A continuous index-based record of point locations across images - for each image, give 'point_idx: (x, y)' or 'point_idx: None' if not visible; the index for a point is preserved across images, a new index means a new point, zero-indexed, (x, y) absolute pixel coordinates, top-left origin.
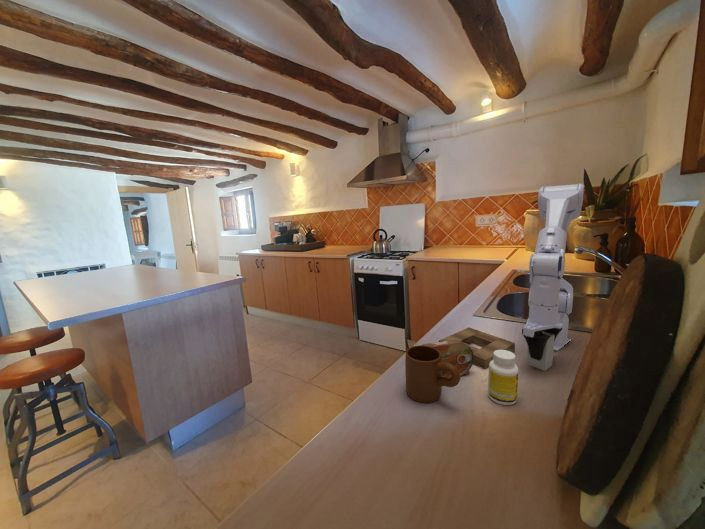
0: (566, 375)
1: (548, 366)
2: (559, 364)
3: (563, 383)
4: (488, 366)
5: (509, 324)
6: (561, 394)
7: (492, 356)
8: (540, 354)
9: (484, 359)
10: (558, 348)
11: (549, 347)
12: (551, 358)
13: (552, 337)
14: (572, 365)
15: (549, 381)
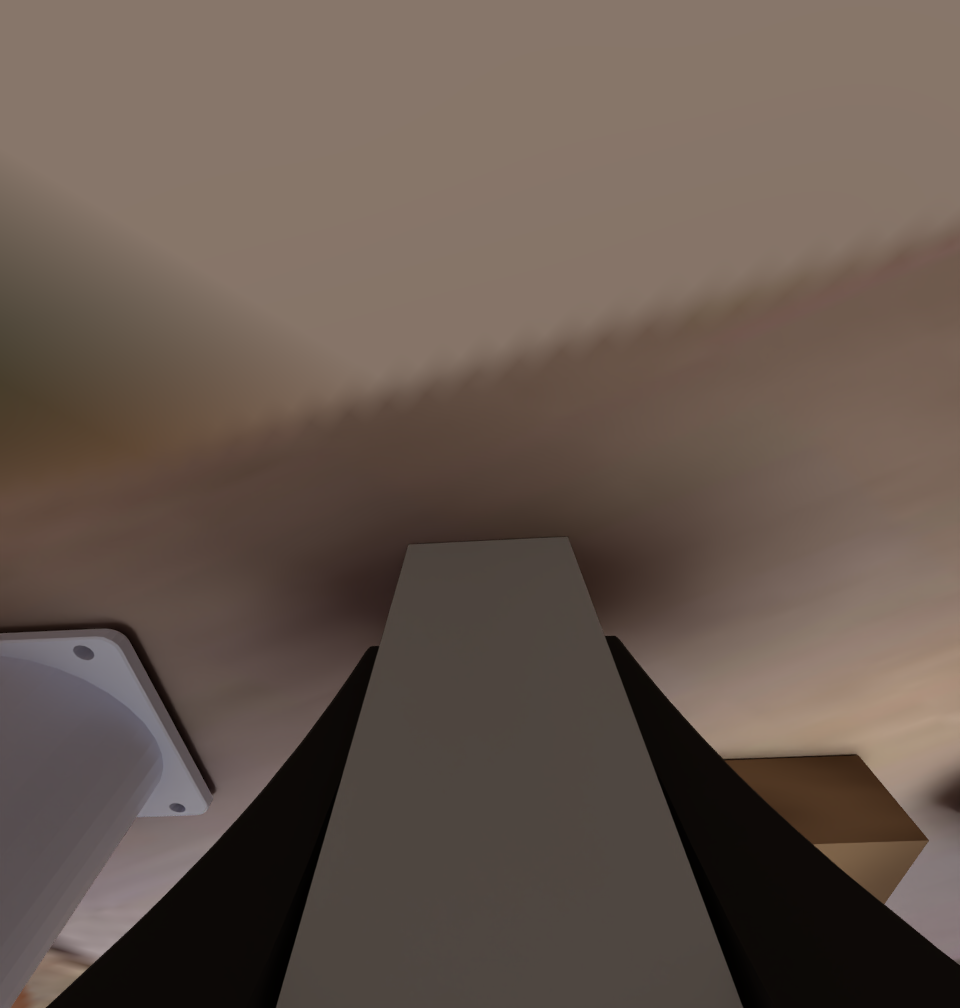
0: (493, 383)
1: (489, 549)
2: (334, 514)
3: (684, 331)
4: (819, 764)
5: (93, 924)
6: (938, 242)
7: (814, 839)
8: (662, 699)
9: (920, 846)
10: (76, 640)
11: (518, 742)
12: (428, 593)
13: (411, 972)
14: (236, 435)
15: (735, 431)
